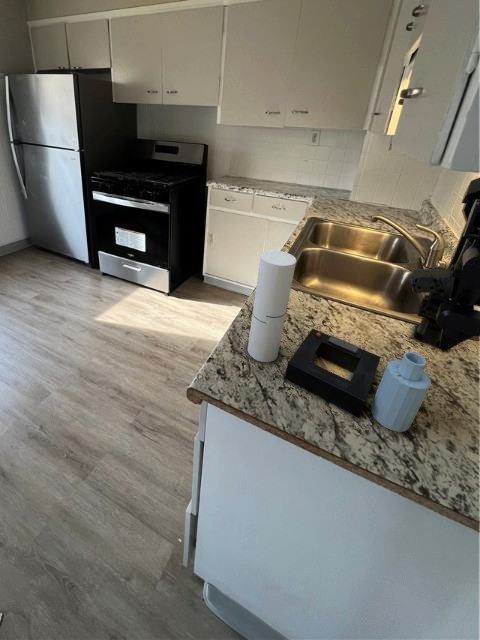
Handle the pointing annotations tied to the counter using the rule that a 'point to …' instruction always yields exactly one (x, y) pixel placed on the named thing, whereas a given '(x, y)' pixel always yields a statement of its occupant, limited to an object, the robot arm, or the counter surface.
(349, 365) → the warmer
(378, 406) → the vase
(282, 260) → the cylindrical container
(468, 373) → the counter surface
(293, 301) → the counter surface
